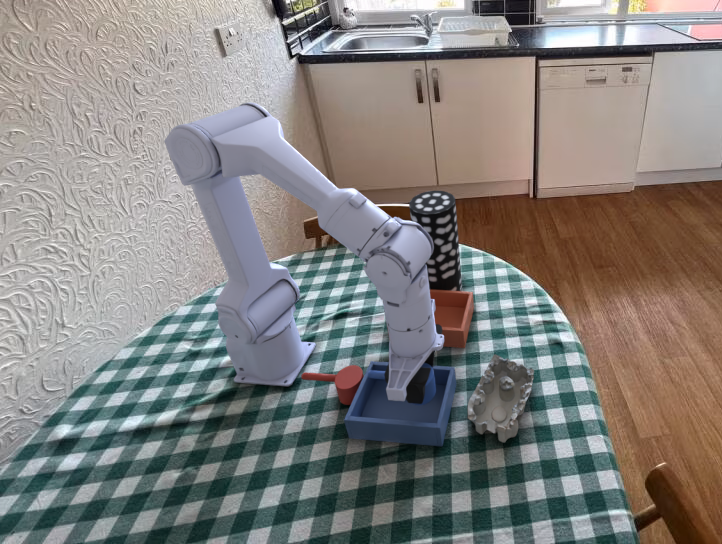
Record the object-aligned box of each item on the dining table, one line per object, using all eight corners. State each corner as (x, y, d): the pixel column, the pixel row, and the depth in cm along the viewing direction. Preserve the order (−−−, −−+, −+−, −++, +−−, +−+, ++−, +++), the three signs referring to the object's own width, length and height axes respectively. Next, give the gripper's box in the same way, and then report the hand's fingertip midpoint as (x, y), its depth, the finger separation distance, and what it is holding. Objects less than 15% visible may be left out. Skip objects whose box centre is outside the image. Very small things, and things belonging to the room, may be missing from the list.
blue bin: (348, 438, 57) (343, 420, 55) (374, 378, 65) (370, 360, 64) (442, 446, 56) (440, 428, 54) (456, 384, 64) (454, 366, 63)
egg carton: (512, 450, 56) (511, 431, 54) (463, 428, 58) (461, 409, 56) (538, 382, 64) (538, 364, 63) (494, 366, 67) (494, 348, 65)
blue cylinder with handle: (365, 401, 58) (360, 384, 56) (376, 375, 61) (372, 358, 60) (431, 406, 57) (429, 389, 55) (439, 380, 60) (436, 363, 59)
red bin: (389, 343, 72) (386, 326, 70) (406, 303, 80) (404, 287, 78) (464, 348, 70) (463, 331, 69) (474, 307, 79) (473, 291, 77)
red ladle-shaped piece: (299, 401, 62) (293, 385, 61) (312, 377, 66) (307, 361, 64) (360, 406, 61) (355, 390, 60) (370, 381, 65) (367, 365, 63)
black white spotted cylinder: (428, 271, 88) (418, 189, 79) (466, 274, 87) (460, 191, 78) (414, 299, 81) (402, 212, 72) (456, 303, 79) (448, 215, 71)
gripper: (424, 366, 45) (435, 441, 51) (452, 276, 58) (458, 344, 64) (362, 361, 46) (380, 437, 52) (404, 274, 59) (414, 342, 65)
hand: (420, 385), depth 58 cm, fingers closed on blue cylinder with handle, 4 cm apart
